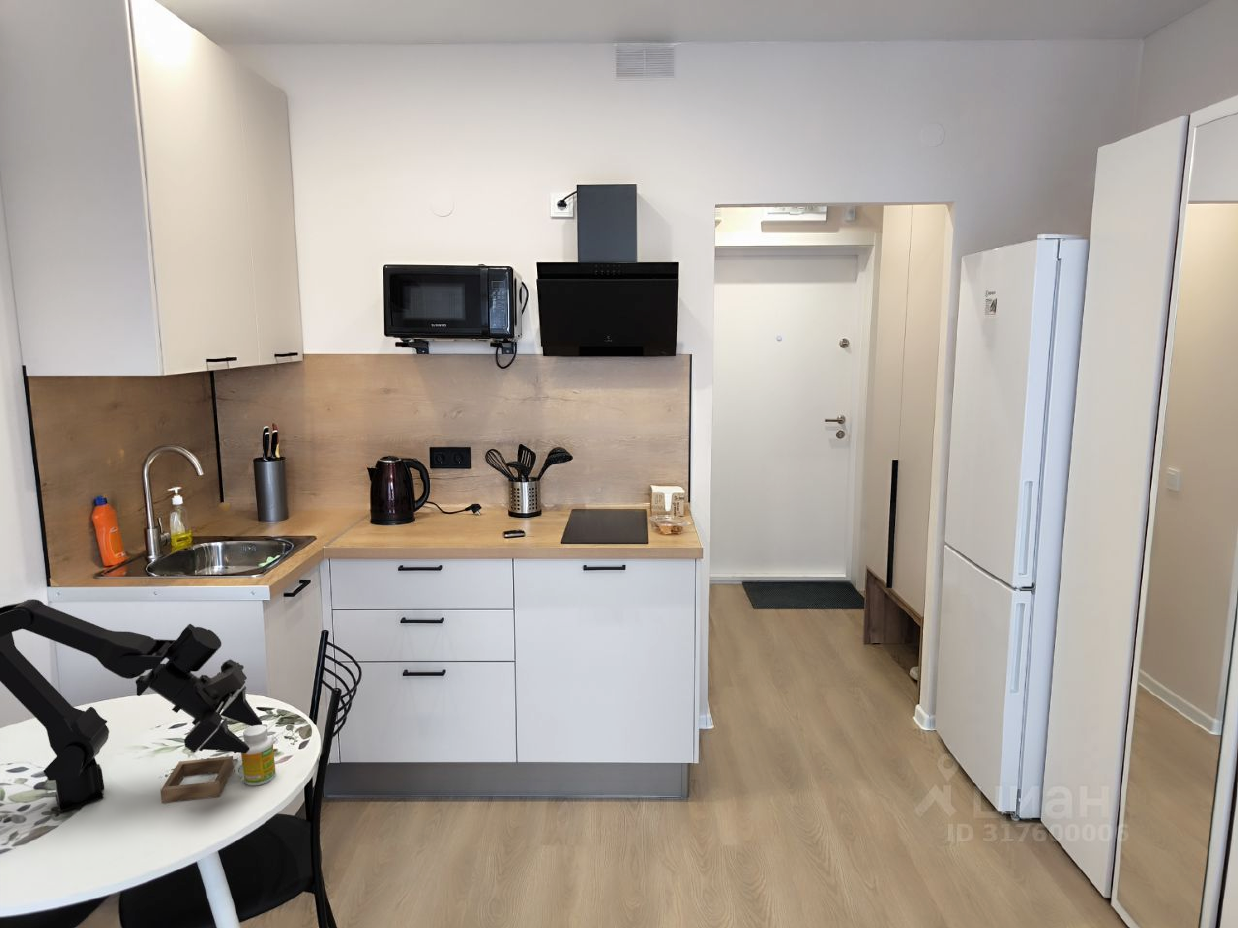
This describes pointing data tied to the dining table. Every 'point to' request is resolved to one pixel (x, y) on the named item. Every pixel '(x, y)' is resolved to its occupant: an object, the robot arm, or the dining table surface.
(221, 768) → the walnut collar
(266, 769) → the supplement bottle
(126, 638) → the robot arm
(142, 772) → the dining table surface
